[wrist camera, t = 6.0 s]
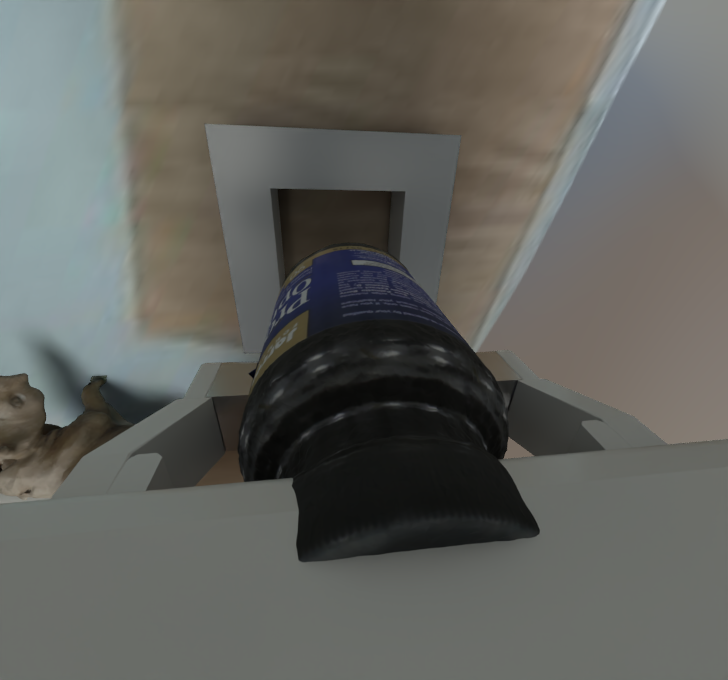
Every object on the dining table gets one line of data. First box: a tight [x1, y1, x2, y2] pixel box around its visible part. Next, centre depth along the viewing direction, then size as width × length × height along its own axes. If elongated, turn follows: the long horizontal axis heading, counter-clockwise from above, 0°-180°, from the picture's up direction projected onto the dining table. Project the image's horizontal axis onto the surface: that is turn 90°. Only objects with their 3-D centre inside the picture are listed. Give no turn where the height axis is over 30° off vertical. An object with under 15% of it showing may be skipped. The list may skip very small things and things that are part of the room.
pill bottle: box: [237, 243, 540, 562], centre depth 9 cm, size 6×6×11 cm
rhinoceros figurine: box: [0, 373, 136, 500], centre depth 26 cm, size 8×14×15 cm
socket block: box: [205, 124, 461, 353], centre depth 23 cm, size 14×14×4 cm
